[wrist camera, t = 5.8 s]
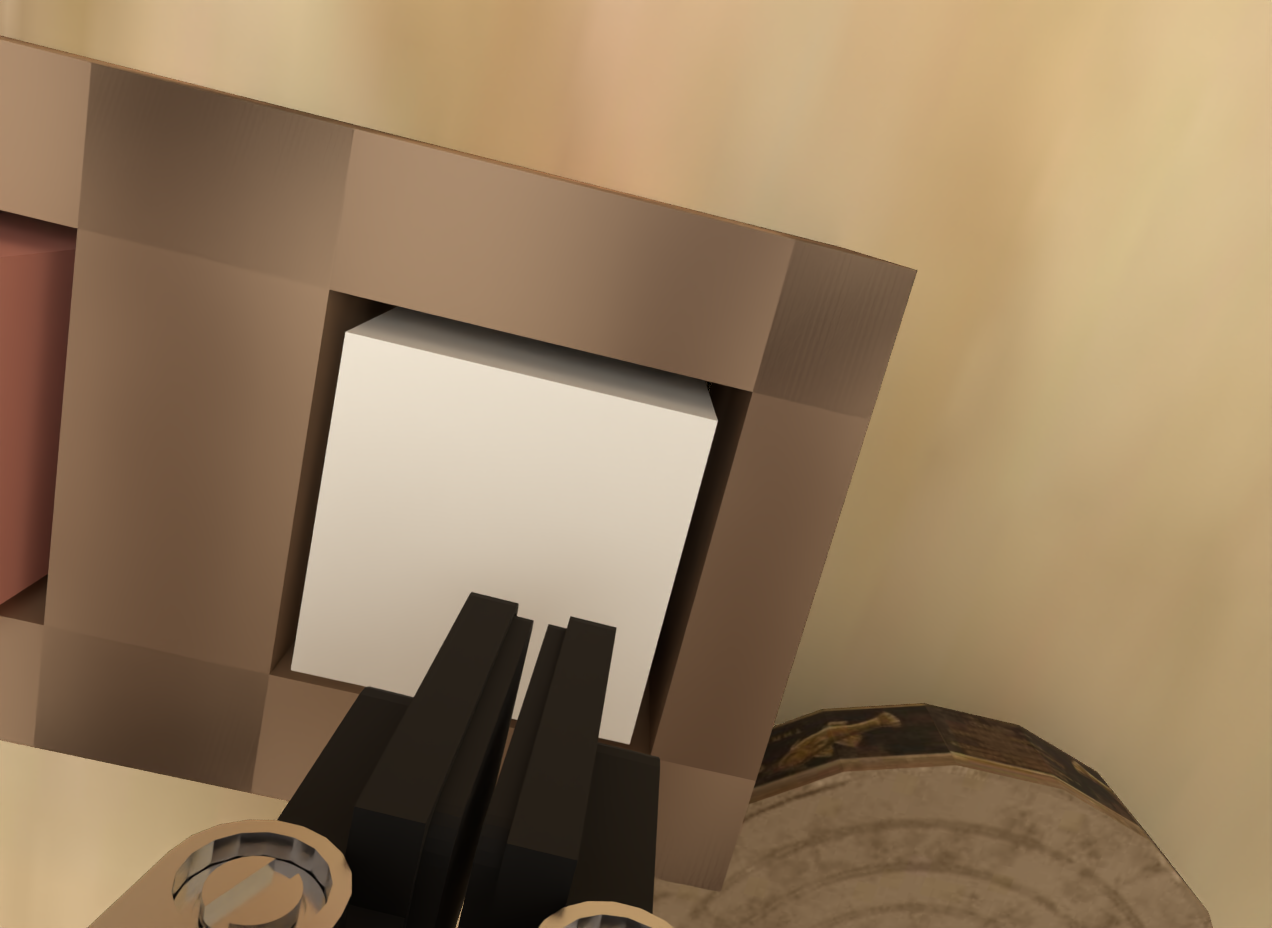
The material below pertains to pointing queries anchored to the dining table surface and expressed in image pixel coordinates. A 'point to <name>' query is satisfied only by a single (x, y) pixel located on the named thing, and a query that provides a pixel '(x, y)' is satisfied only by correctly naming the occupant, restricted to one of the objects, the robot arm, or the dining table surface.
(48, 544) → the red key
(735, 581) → the frame
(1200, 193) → the dining table surface
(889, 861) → the brown flat disc
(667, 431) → the white block
